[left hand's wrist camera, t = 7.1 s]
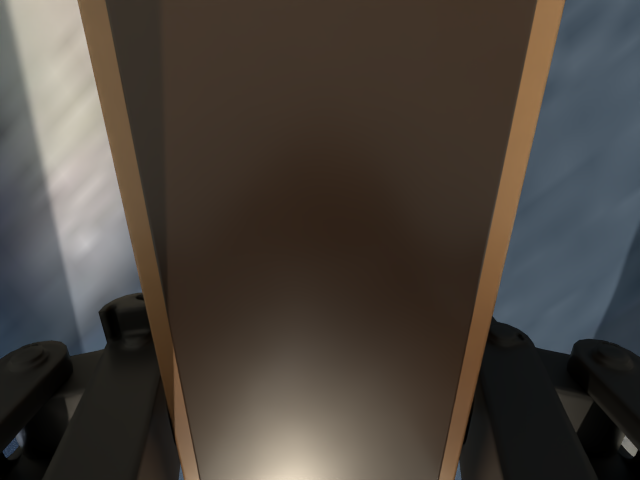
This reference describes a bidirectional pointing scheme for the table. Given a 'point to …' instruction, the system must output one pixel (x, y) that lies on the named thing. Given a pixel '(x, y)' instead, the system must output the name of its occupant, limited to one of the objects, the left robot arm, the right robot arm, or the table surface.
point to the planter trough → (320, 217)
